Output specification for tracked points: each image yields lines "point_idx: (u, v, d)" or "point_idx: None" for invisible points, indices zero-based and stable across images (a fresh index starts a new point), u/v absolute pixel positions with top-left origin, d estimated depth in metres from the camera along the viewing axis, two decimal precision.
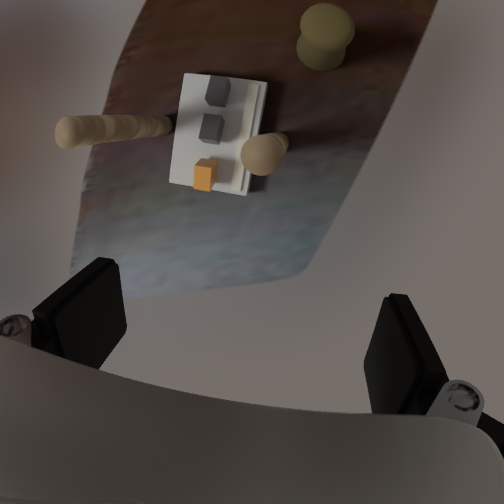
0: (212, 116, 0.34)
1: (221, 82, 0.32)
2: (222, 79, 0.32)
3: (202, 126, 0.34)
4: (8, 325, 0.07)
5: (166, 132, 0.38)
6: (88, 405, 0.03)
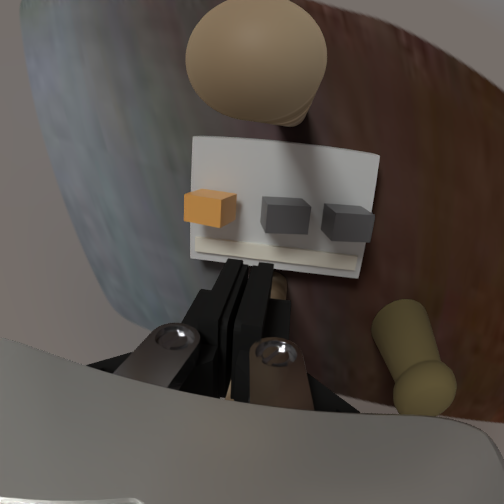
0: (305, 221, 0.22)
1: (361, 234, 0.22)
2: (366, 234, 0.22)
3: (288, 208, 0.21)
4: (172, 333, 0.07)
5: None
6: (88, 405, 0.03)
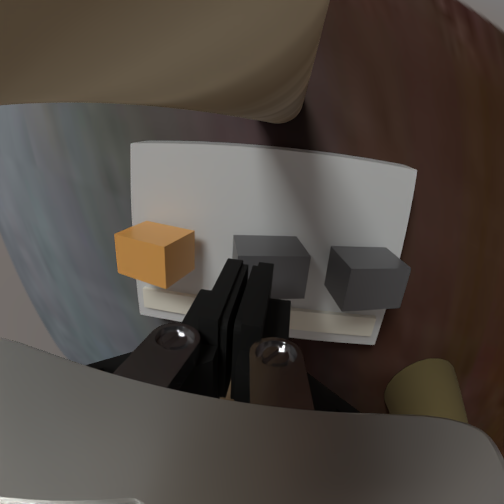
0: (300, 278, 0.14)
1: (388, 297, 0.13)
2: (396, 297, 0.13)
3: (272, 260, 0.13)
4: (172, 333, 0.07)
5: None
6: (88, 405, 0.03)
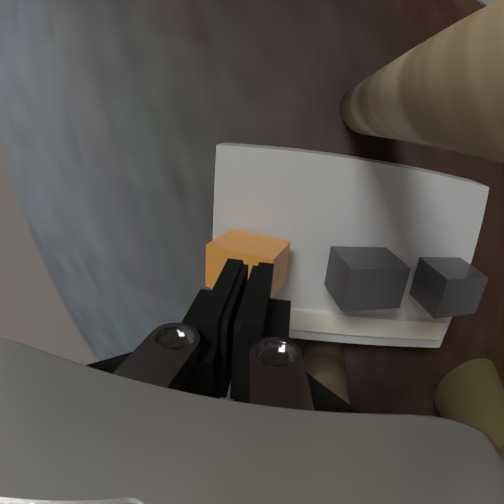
0: (399, 289, 0.13)
1: (469, 304, 0.13)
2: (474, 304, 0.13)
3: (380, 272, 0.13)
4: (172, 333, 0.07)
5: (352, 127, 0.14)
6: (88, 405, 0.03)
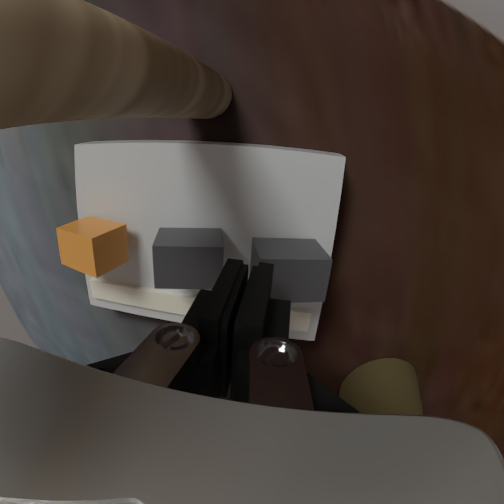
0: (215, 269, 0.14)
1: (308, 290, 0.13)
2: (318, 290, 0.14)
3: (185, 250, 0.13)
4: (172, 333, 0.07)
5: None
6: (88, 405, 0.03)
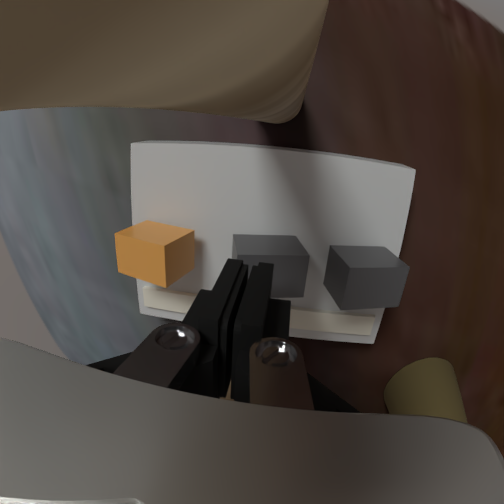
0: (299, 277, 0.14)
1: (386, 296, 0.13)
2: (394, 296, 0.13)
3: (271, 259, 0.13)
4: (172, 333, 0.07)
5: None
6: (88, 405, 0.03)
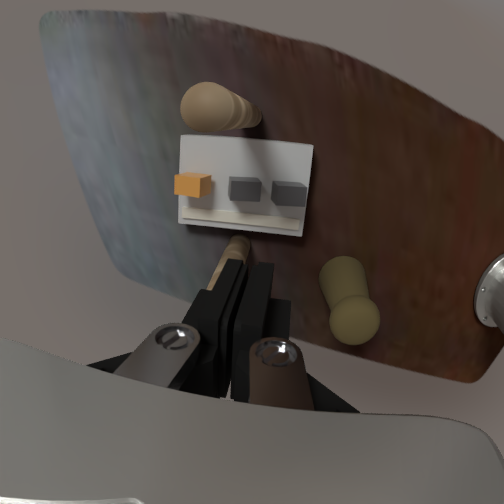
0: (257, 192, 0.32)
1: (297, 200, 0.32)
2: (302, 201, 0.32)
3: (245, 183, 0.31)
4: (172, 333, 0.07)
5: None
6: (88, 405, 0.03)
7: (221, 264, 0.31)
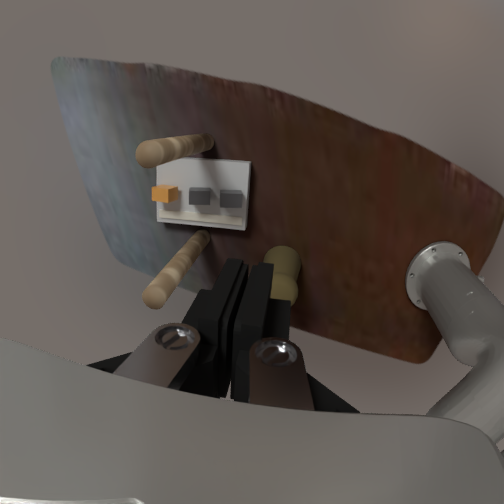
0: (208, 198, 0.45)
1: (236, 203, 0.44)
2: (239, 204, 0.44)
3: (198, 192, 0.44)
4: (172, 333, 0.07)
5: None
6: (88, 405, 0.03)
7: (181, 249, 0.44)
